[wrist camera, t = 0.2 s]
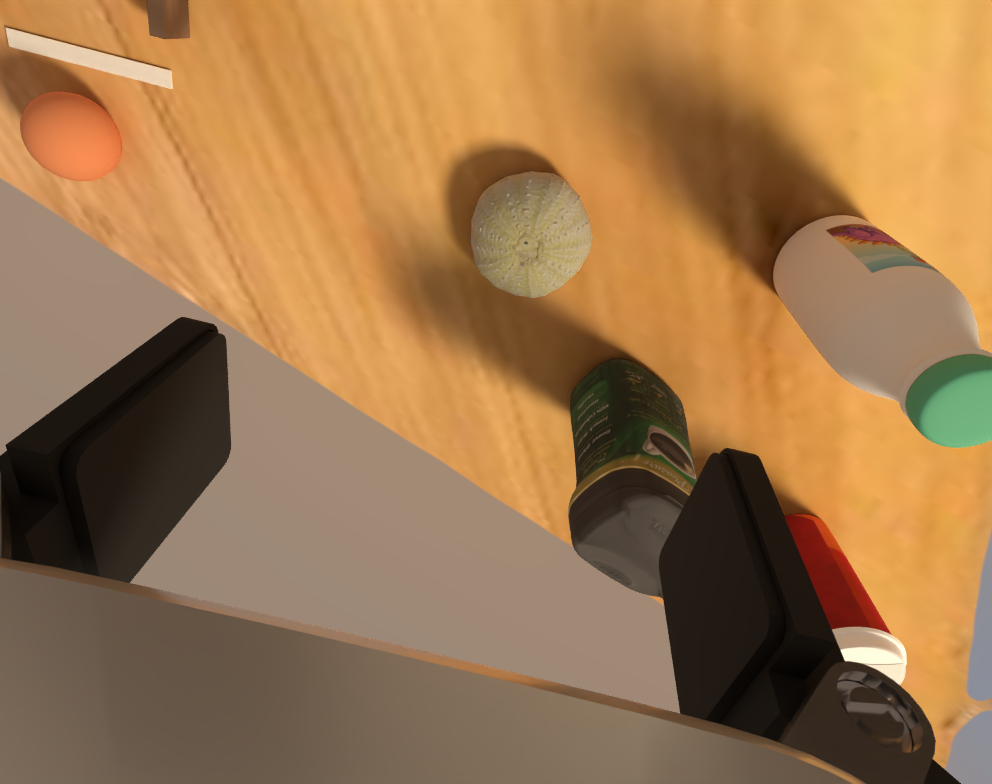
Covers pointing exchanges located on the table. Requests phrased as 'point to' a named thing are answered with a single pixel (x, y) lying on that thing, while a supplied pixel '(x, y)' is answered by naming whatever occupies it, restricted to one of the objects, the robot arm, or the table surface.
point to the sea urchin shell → (530, 233)
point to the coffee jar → (627, 471)
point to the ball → (71, 136)
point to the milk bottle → (889, 325)
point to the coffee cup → (846, 600)
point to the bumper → (168, 18)
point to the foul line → (89, 58)
